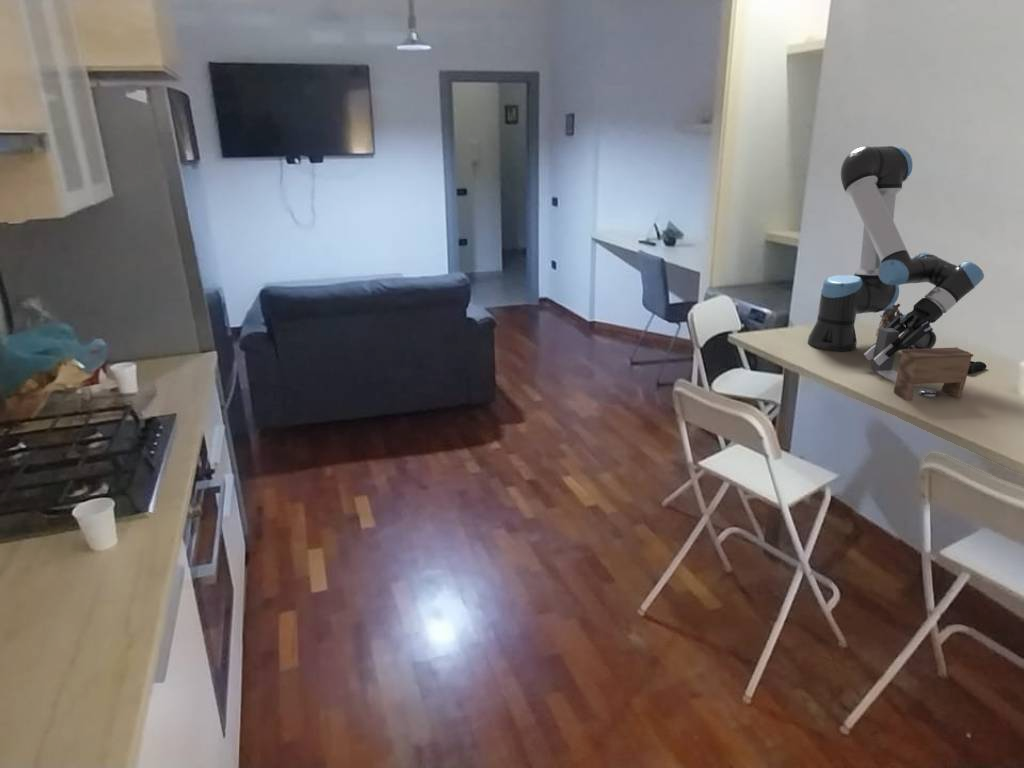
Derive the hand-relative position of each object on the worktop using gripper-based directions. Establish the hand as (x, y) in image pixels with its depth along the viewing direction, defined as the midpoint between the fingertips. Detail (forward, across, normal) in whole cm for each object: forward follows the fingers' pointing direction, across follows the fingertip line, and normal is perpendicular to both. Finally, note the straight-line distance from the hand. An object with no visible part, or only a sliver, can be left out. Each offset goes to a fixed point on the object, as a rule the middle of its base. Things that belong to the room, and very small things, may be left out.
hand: (871, 359), depth 206 cm
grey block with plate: (0, +6, +5) cm, 8 cm away
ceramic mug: (-18, -20, +24) cm, 36 cm away
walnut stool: (0, +20, +5) cm, 21 cm away
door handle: (-18, -5, +24) cm, 31 cm away
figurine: (-18, -35, +24) cm, 46 cm away
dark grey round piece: (0, +20, +6) cm, 21 cm away
